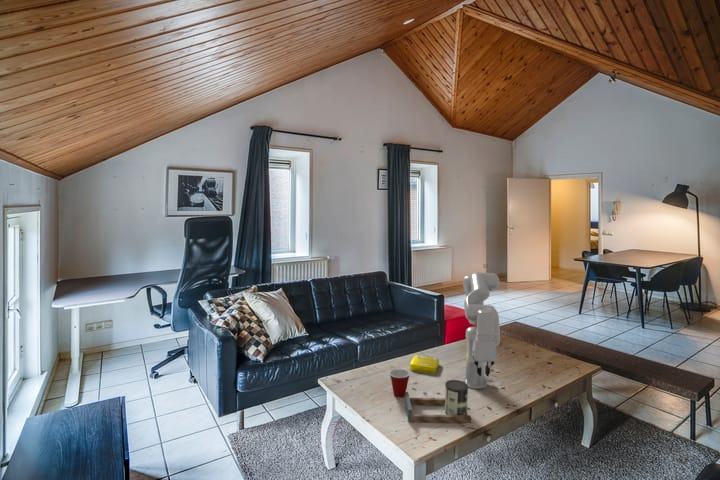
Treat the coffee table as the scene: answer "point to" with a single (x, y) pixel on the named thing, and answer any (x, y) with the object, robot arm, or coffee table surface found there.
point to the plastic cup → (399, 381)
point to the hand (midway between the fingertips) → (483, 374)
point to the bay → (431, 418)
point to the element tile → (424, 364)
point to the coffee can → (456, 397)
